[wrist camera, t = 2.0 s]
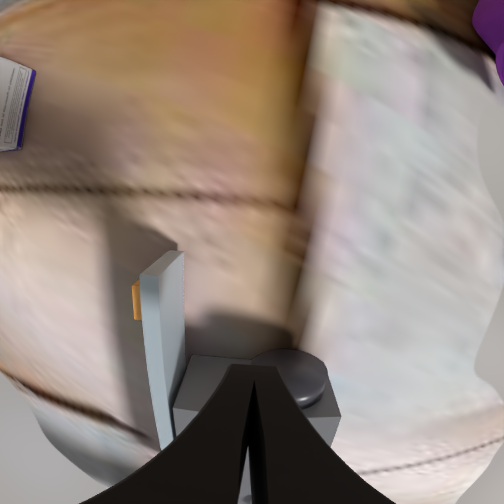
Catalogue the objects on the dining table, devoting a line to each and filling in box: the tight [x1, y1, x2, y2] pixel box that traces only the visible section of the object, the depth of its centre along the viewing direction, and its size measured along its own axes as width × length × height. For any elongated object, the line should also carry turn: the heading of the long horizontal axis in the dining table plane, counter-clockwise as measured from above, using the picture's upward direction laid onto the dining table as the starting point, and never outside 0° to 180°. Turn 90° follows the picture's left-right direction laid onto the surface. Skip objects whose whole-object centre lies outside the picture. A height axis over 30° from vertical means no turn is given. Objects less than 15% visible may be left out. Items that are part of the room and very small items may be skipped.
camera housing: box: [173, 349, 341, 504], centre depth 16 cm, size 13×8×6 cm, turn 176°
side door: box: [132, 250, 186, 451], centre depth 15 cm, size 18×1×4 cm, turn 176°
